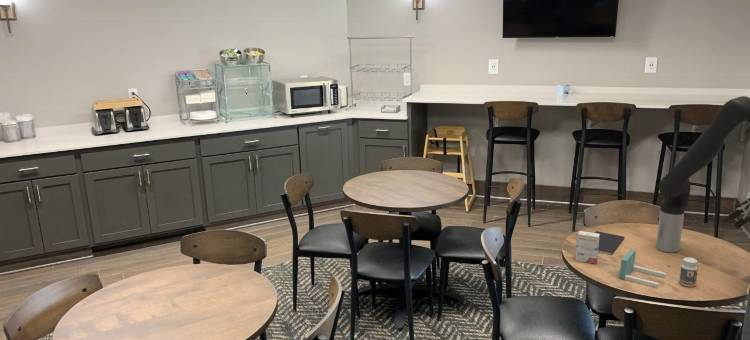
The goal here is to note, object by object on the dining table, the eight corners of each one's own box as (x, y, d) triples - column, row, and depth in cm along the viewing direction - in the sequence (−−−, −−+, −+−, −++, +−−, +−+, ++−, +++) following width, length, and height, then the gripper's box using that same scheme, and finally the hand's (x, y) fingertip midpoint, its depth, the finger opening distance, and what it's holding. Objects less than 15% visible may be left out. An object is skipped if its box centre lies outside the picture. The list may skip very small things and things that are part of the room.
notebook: (611, 256, 254) (624, 239, 270) (612, 253, 253) (624, 236, 270) (581, 249, 261) (595, 233, 278) (581, 246, 261) (595, 230, 277)
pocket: (665, 276, 234) (668, 257, 232) (657, 288, 225) (660, 268, 223) (628, 267, 242) (630, 249, 240) (619, 278, 233) (621, 259, 231)
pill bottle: (697, 287, 225) (701, 263, 222) (681, 286, 226) (684, 262, 223) (693, 280, 230) (696, 257, 227) (677, 279, 231) (680, 256, 228)
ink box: (597, 259, 250) (600, 233, 247) (596, 264, 246) (599, 237, 242) (576, 256, 254) (578, 230, 250) (574, 260, 249) (576, 234, 246)
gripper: (760, 181, 219) (720, 208, 225) (771, 193, 206) (729, 221, 212) (774, 196, 218) (734, 223, 225) (787, 209, 205) (744, 237, 212)
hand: (732, 222), depth 219 cm, fingers open, 8 cm apart
